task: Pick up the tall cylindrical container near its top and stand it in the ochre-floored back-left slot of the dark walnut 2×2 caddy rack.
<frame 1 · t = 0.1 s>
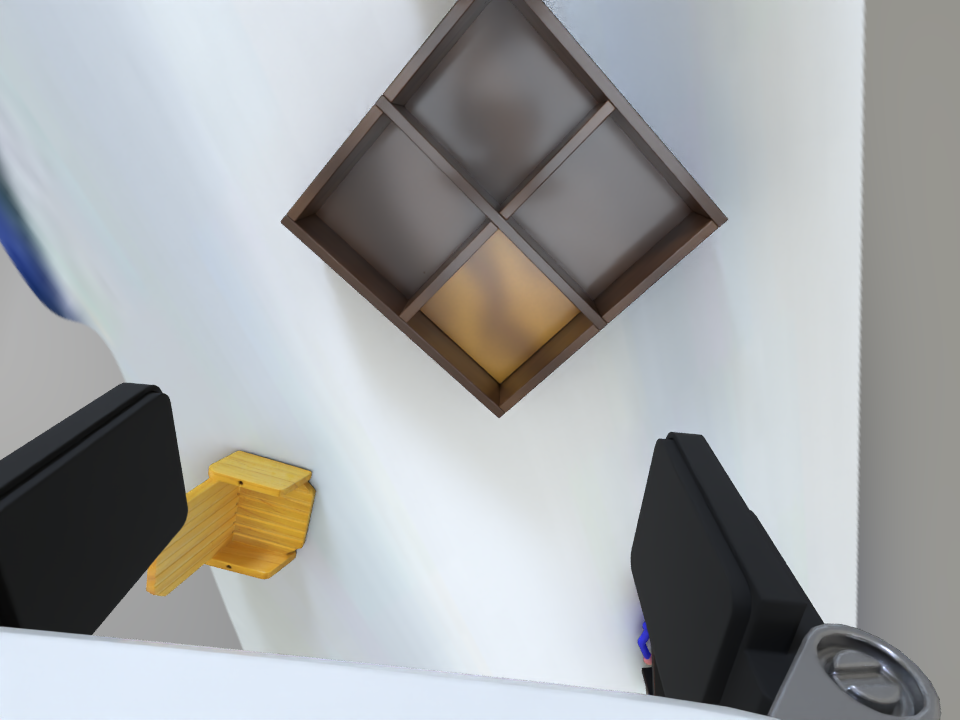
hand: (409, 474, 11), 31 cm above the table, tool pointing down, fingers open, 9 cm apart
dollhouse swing: (260, 501, 50), on the table
rack: (500, 211, 39), on the table
figurine character: (668, 622, 53), on the table
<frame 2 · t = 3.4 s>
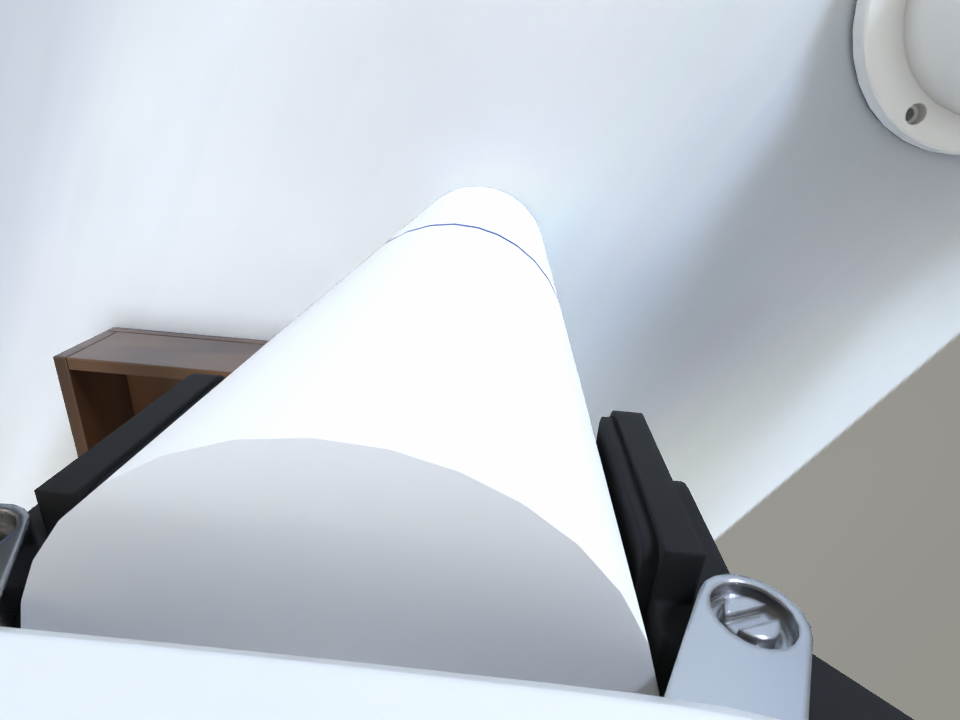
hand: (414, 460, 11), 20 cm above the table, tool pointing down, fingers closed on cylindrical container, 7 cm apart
rack: (292, 485, 36), on the table
cylindrical container: (477, 255, 29), on the table, touching gripper
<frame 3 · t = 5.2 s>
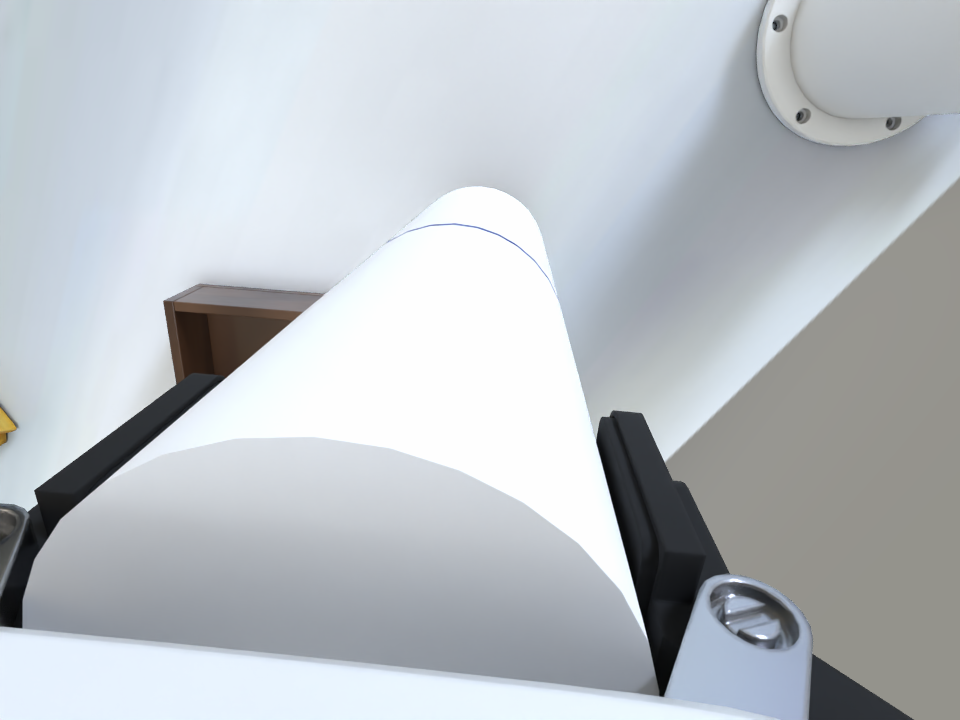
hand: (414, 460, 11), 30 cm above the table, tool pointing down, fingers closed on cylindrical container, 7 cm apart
rack: (335, 413, 45), on the table
cylindrical container: (477, 255, 29), point 10 cm above the table, touching gripper
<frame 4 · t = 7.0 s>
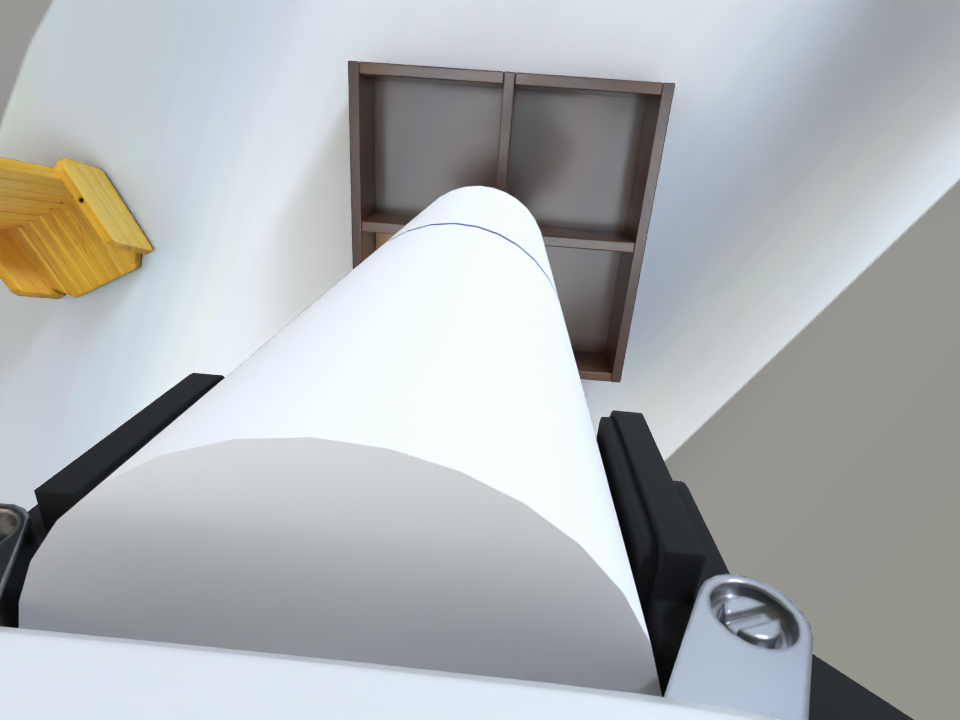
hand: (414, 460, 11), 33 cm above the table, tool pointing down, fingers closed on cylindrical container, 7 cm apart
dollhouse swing: (75, 227, 44), on the table
rack: (498, 226, 42), on the table
cylindrical container: (477, 254, 29), point 13 cm above the table, touching gripper
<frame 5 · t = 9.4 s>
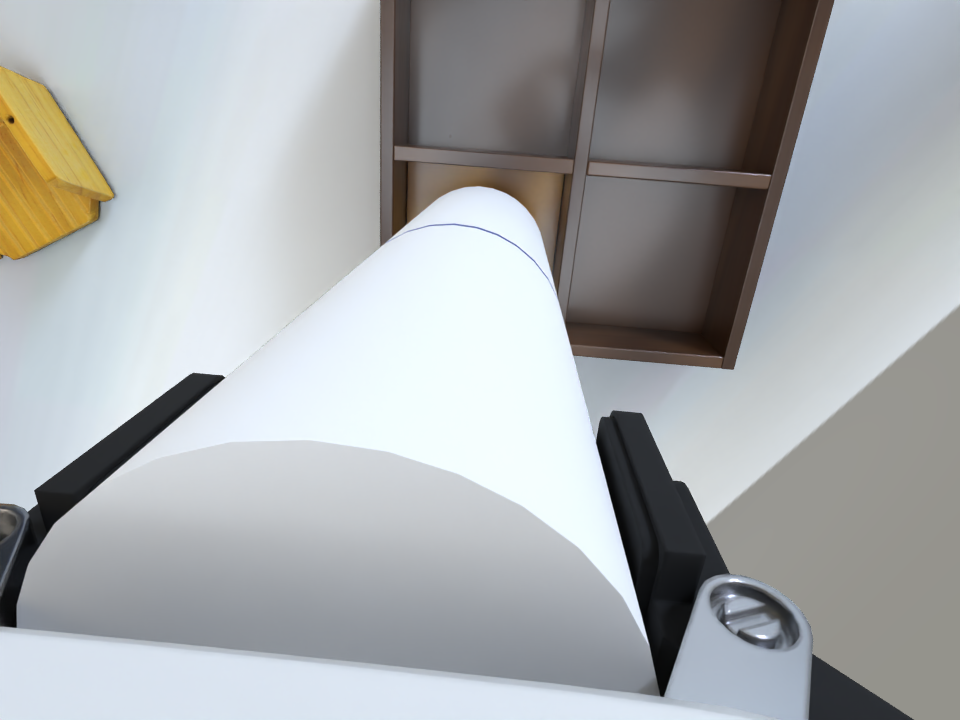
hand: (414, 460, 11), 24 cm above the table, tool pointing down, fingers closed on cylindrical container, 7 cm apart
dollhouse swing: (12, 166, 34), on the table
rack: (571, 162, 31), on the table
cylindrical container: (476, 255, 29), point 4 cm above the table, touching gripper
when the fingers open (21 cm above the table, at t = 10.9 s): cylindrical container stays where it is, resting on rack.
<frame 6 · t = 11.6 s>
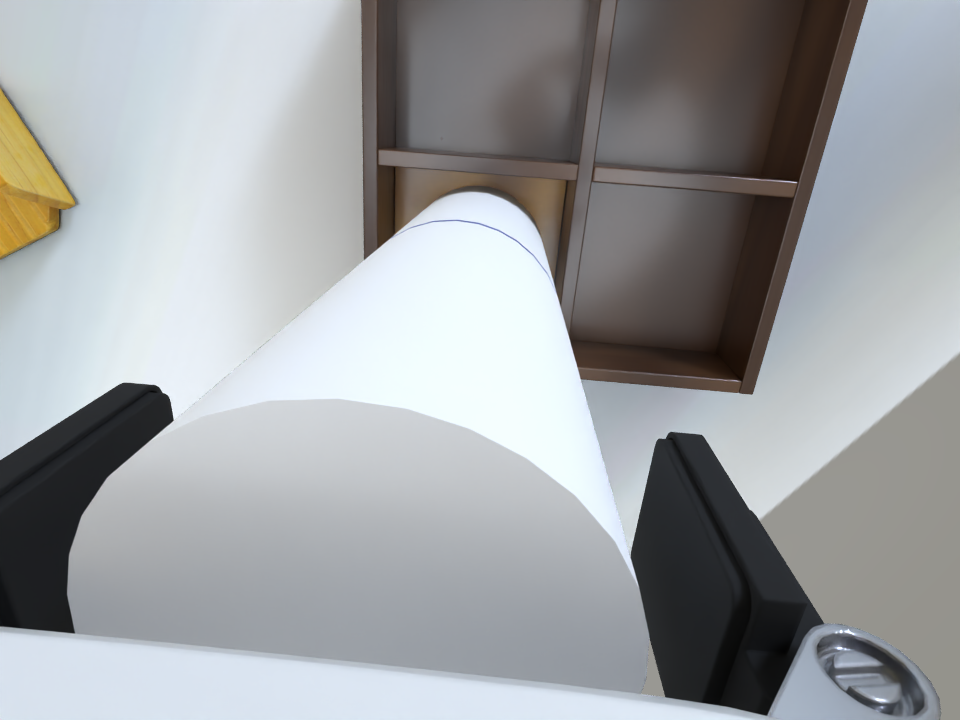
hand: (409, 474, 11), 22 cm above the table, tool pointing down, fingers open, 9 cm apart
rack: (574, 167, 29), on the table
cylindrical container: (477, 253, 30), point 1 cm above the table, touching rack
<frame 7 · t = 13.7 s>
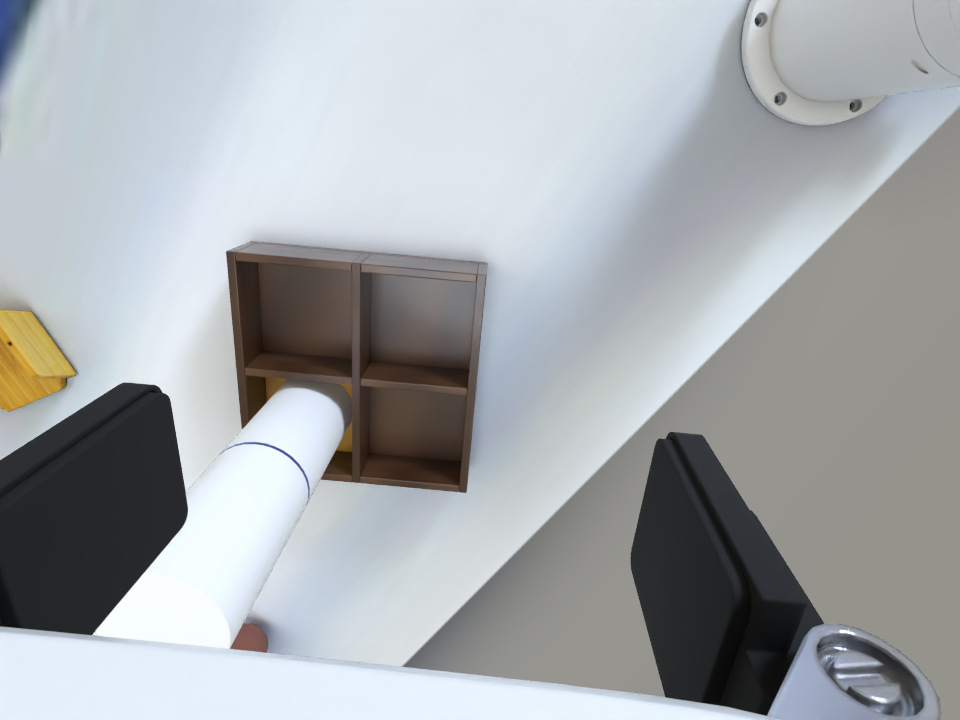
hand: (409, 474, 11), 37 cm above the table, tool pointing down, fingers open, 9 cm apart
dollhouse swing: (8, 354, 51), on the table
rack: (368, 361, 50), on the table
figurine character: (231, 652, 65), on the table
cylindrical container: (315, 406, 51), point 1 cm above the table, touching rack
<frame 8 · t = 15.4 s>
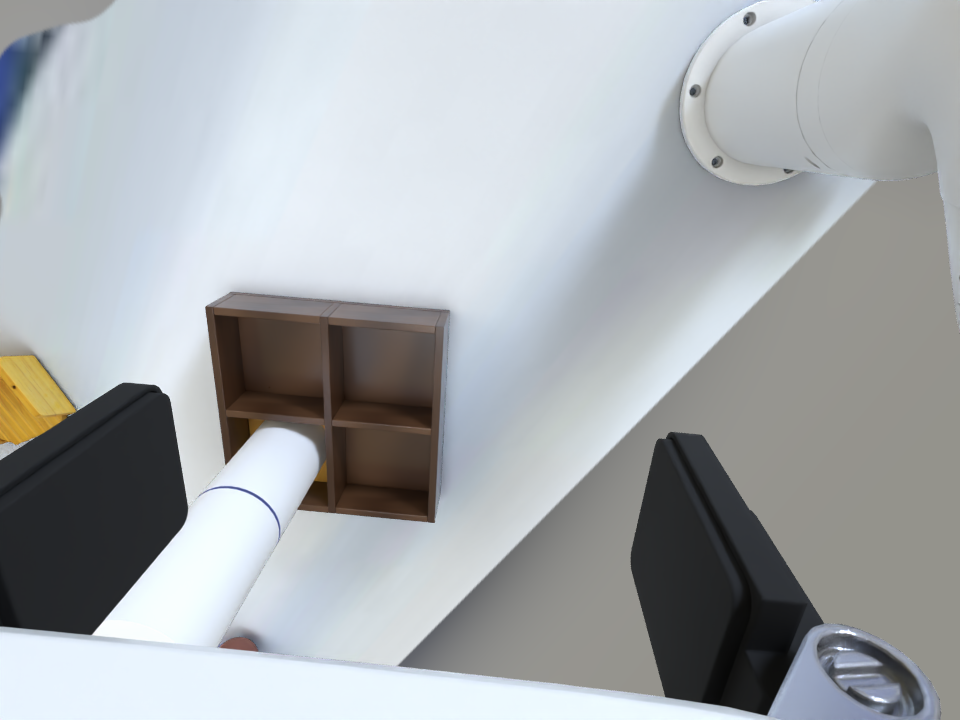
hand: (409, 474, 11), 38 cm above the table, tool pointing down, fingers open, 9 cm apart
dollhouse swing: (15, 392, 56), on the table
rack: (342, 399, 54), on the table
figurine character: (226, 662, 69), on the table
cylindrical container: (295, 440, 55), point 1 cm above the table, touching rack
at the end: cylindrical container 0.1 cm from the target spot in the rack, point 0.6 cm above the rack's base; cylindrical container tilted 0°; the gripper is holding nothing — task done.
